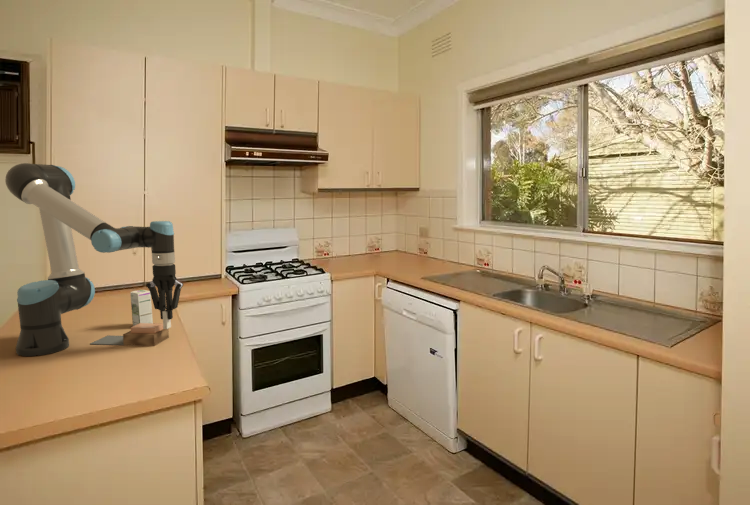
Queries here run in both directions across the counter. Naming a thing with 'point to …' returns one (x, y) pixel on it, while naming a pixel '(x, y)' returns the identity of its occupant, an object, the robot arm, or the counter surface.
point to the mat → (109, 340)
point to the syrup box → (141, 307)
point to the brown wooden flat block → (145, 338)
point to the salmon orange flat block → (147, 328)
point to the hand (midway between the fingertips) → (167, 327)
